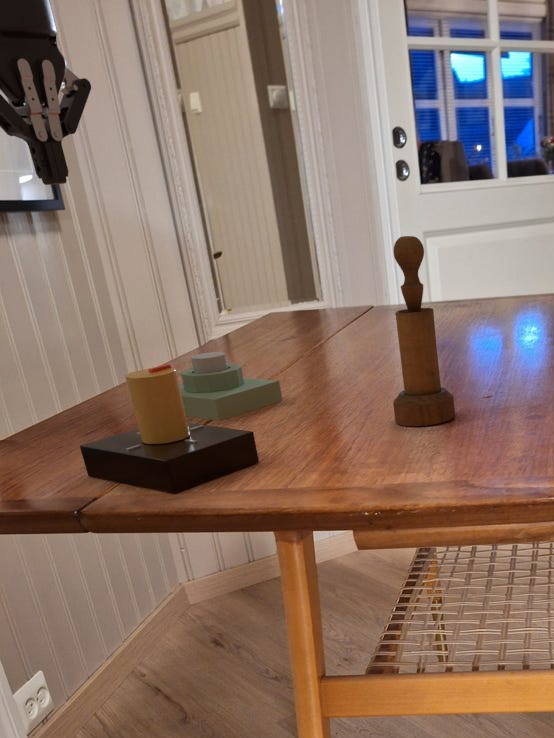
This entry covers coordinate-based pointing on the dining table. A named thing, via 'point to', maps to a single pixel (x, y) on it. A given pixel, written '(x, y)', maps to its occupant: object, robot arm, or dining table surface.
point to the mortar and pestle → (418, 348)
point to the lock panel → (170, 458)
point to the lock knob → (158, 405)
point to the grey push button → (209, 362)
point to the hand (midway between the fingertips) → (55, 183)
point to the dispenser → (225, 393)
